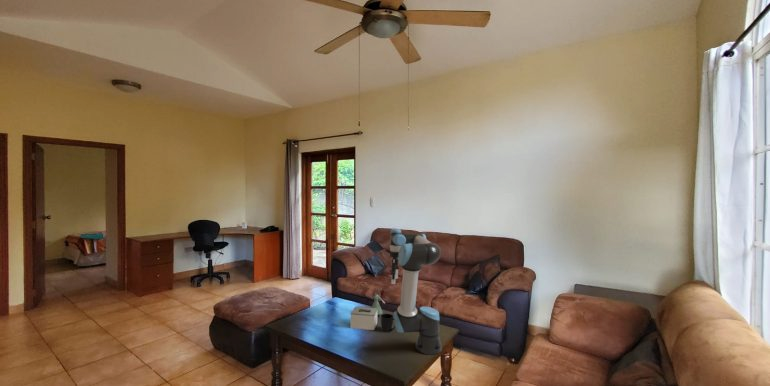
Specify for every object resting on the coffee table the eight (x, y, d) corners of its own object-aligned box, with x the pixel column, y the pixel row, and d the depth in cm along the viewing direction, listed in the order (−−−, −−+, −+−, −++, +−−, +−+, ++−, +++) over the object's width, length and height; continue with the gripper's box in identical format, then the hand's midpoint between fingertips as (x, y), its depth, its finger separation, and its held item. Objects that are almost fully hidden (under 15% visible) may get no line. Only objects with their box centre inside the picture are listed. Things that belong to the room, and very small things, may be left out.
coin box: (377, 322, 224) (377, 308, 224) (373, 330, 212) (374, 315, 212) (354, 320, 227) (355, 306, 226) (350, 328, 215) (350, 313, 215)
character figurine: (362, 315, 236) (363, 291, 236) (367, 311, 244) (368, 288, 243) (382, 319, 229) (382, 294, 229) (386, 315, 237) (387, 291, 237)
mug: (393, 335, 205) (394, 320, 205) (378, 331, 211) (378, 316, 211) (400, 331, 212) (400, 316, 212) (384, 326, 218) (385, 312, 218)
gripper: (392, 247, 239) (391, 276, 239) (387, 254, 214) (386, 286, 214) (402, 248, 237) (401, 276, 238) (398, 254, 213) (397, 286, 213)
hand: (394, 281), depth 226 cm, fingers open, 13 cm apart
